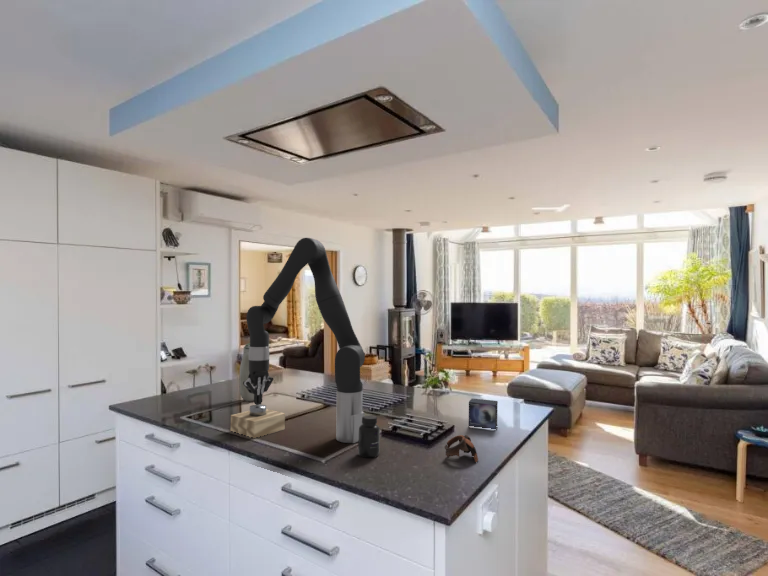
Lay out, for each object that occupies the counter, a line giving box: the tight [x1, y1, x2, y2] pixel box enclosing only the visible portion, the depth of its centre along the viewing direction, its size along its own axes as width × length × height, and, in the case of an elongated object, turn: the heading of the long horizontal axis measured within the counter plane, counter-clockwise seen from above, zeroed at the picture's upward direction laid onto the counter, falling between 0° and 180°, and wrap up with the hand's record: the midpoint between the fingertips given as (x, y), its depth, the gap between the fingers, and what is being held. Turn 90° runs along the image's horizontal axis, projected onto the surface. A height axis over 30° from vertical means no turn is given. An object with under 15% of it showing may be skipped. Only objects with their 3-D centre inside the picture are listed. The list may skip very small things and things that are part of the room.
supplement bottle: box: [357, 414, 381, 459], centre depth 139 cm, size 7×7×12 cm
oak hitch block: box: [230, 408, 286, 439], centre depth 163 cm, size 14×14×6 cm
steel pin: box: [249, 403, 267, 417], centre depth 163 cm, size 6×6×8 cm
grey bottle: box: [239, 342, 261, 402], centre depth 210 cm, size 10×10×28 cm
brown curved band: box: [444, 434, 479, 463], centre depth 137 cm, size 12×10×8 cm
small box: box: [468, 398, 499, 430], centre depth 169 cm, size 11×6×10 cm, turn 68°
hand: (258, 404), depth 163 cm, fingers closed
